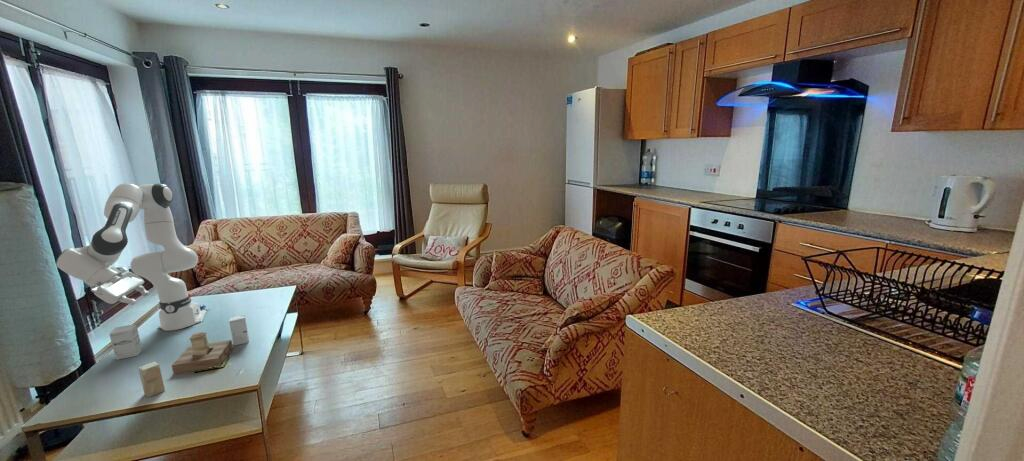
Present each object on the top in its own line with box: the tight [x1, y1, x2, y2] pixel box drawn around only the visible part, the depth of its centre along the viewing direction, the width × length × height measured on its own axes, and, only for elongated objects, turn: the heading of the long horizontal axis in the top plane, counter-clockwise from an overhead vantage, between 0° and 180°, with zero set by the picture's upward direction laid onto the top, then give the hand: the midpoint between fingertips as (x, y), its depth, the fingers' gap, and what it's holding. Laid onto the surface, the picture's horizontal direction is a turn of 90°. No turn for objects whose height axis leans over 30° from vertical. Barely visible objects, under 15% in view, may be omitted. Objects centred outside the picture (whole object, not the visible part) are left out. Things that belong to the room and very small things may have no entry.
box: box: [137, 361, 166, 398], centre depth 152 cm, size 5×4×11 cm
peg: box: [189, 331, 210, 356], centre depth 173 cm, size 4×4×12 cm
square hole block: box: [171, 339, 234, 375], centre depth 173 cm, size 16×16×4 cm
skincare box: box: [228, 314, 250, 346], centre depth 187 cm, size 6×4×12 cm
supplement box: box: [109, 323, 143, 361], centre depth 180 cm, size 7×7×13 cm
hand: (141, 298), depth 166 cm, fingers open, 8 cm apart
